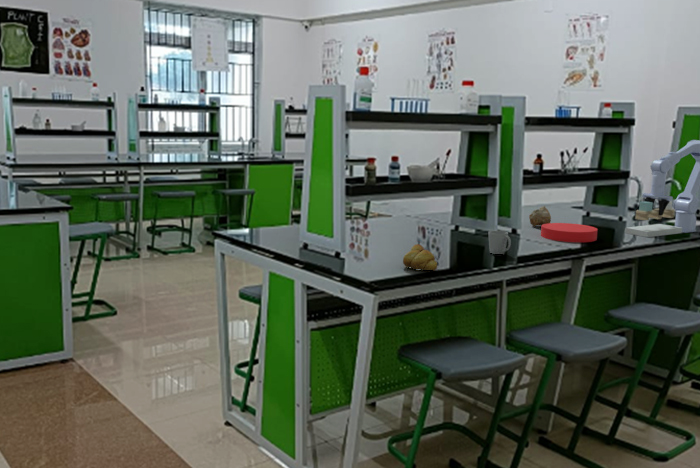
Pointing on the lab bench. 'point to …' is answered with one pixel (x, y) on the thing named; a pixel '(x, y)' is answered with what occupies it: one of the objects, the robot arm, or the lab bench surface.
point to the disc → (569, 232)
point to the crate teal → (645, 206)
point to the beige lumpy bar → (654, 214)
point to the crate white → (669, 206)
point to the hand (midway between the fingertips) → (655, 214)
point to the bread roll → (420, 259)
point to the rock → (540, 217)
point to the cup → (498, 242)
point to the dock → (653, 230)
